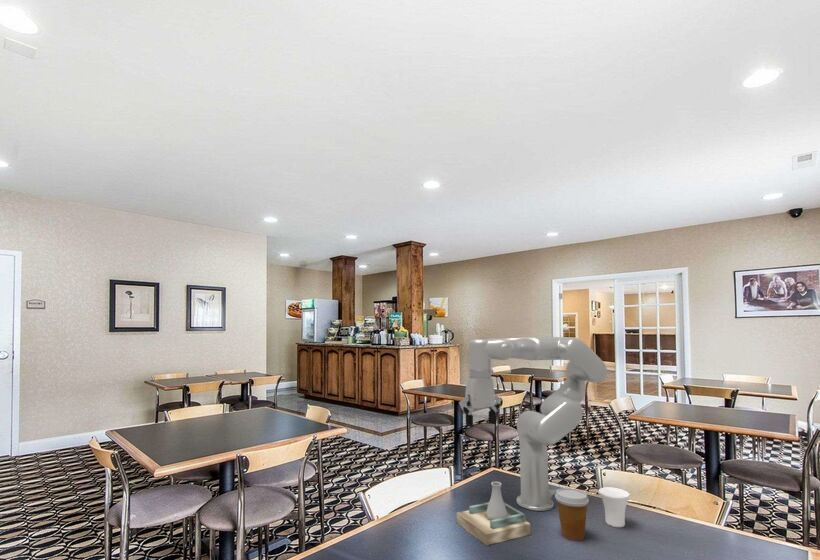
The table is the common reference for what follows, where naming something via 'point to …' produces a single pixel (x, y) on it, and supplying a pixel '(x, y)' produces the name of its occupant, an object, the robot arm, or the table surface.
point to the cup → (614, 505)
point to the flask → (496, 503)
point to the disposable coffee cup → (572, 512)
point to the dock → (493, 524)
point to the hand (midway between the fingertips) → (481, 424)
